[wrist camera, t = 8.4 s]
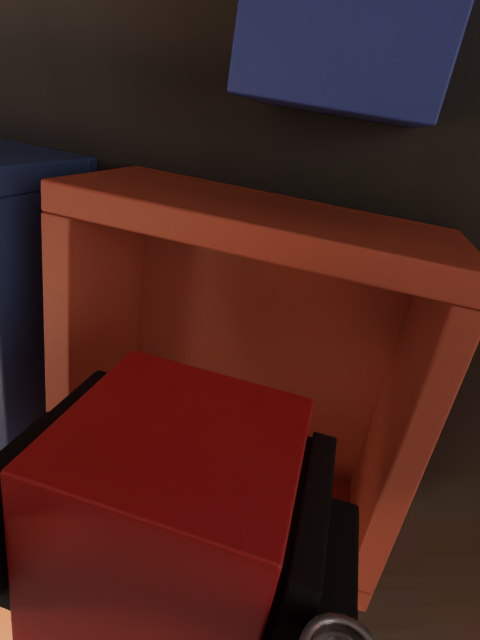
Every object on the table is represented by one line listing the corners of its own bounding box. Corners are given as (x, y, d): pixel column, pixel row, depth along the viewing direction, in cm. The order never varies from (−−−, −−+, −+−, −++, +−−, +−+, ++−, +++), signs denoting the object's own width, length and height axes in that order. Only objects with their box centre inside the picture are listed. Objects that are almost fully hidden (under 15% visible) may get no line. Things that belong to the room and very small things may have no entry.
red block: (132, 348, 11) (-2, 470, 7) (314, 398, 10) (282, 567, 6) (122, 487, 13) (11, 649, 9) (277, 538, 12) (233, 739, 8)
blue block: (295, -80, 12) (261, -186, 8) (470, -64, 11) (527, -171, 7) (265, 103, 14) (225, 91, 10) (414, 128, 13) (436, 126, 9)
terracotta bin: (135, 165, 15) (38, 178, 11) (459, 229, 14) (507, 278, 9) (121, 418, 20) (47, 504, 15) (365, 491, 18) (365, 613, 13)
